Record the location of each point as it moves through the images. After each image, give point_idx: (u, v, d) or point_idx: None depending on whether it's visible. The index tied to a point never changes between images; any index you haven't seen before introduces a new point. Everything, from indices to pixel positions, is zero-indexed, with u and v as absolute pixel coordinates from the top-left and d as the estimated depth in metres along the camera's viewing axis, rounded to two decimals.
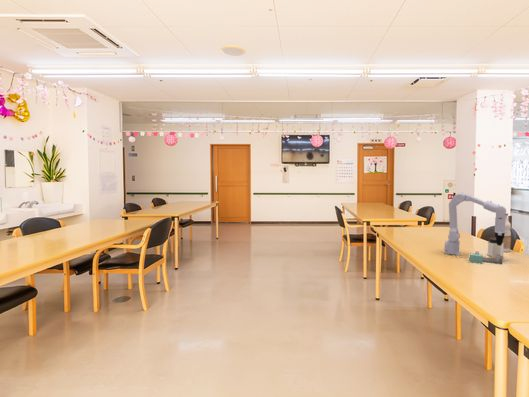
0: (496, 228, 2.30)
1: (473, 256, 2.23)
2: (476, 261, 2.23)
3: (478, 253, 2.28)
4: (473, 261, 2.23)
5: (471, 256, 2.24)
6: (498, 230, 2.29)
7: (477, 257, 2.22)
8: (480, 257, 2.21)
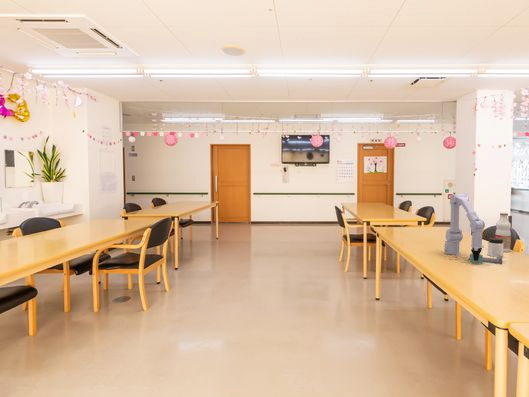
0: (473, 243, 2.23)
1: None
2: (476, 261, 2.23)
3: None
4: (473, 261, 2.23)
5: (471, 256, 2.24)
6: (475, 245, 2.22)
7: None
8: (480, 257, 2.21)
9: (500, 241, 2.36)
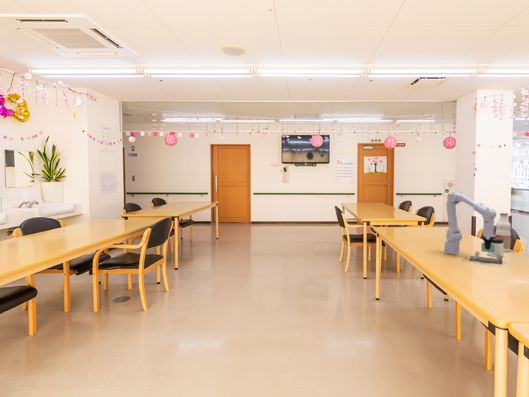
0: (484, 232, 2.25)
1: None
2: (488, 250, 2.25)
3: (478, 253, 2.28)
4: (485, 250, 2.25)
5: (483, 245, 2.26)
6: (486, 234, 2.24)
7: None
8: (492, 246, 2.23)
9: (500, 241, 2.36)
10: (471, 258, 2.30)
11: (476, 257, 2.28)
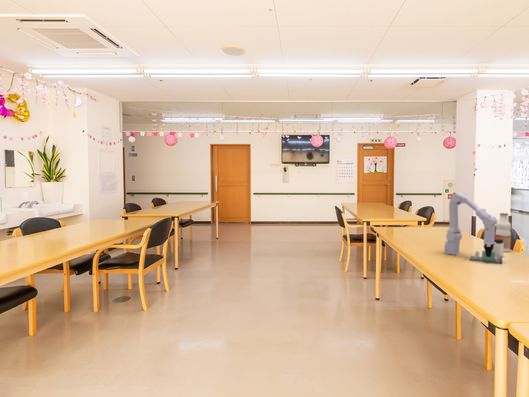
0: (485, 239, 2.26)
1: (485, 253, 2.26)
2: (488, 258, 2.25)
3: (478, 253, 2.28)
4: (485, 258, 2.26)
5: (483, 253, 2.27)
6: (487, 241, 2.25)
7: None
8: (493, 254, 2.24)
9: (500, 241, 2.36)
10: (471, 258, 2.30)
11: (476, 257, 2.28)
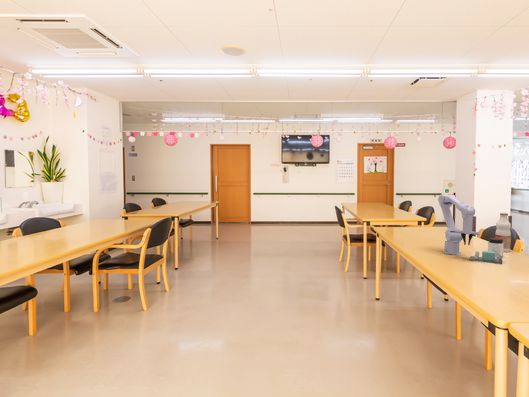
0: None
1: (485, 253, 2.26)
2: (488, 258, 2.25)
3: (478, 253, 2.28)
4: (485, 258, 2.26)
5: (483, 253, 2.27)
6: None
7: (490, 254, 2.25)
8: (493, 254, 2.24)
9: (500, 241, 2.36)
10: (471, 258, 2.30)
11: (476, 257, 2.28)
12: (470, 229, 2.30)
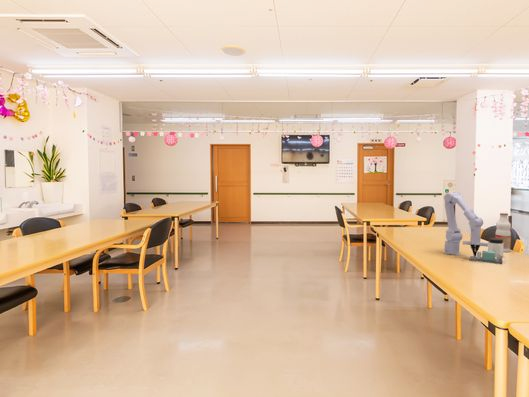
0: None
1: (485, 253, 2.26)
2: (488, 258, 2.25)
3: (480, 253, 2.27)
4: (485, 258, 2.26)
5: (483, 253, 2.27)
6: None
7: (490, 254, 2.25)
8: (493, 254, 2.24)
9: (500, 241, 2.36)
10: (471, 258, 2.30)
11: (478, 257, 2.27)
12: (478, 240, 2.28)
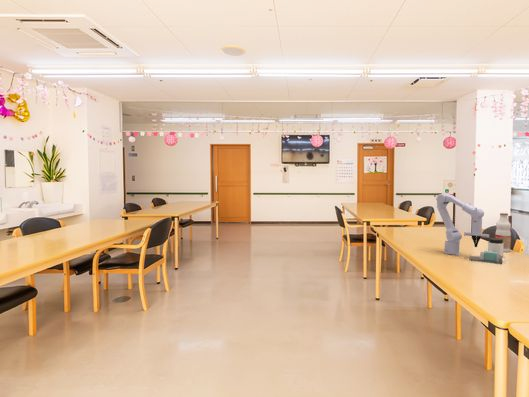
0: None
1: (487, 253, 2.25)
2: (490, 259, 2.25)
3: (483, 254, 2.26)
4: (487, 258, 2.26)
5: (485, 253, 2.26)
6: None
7: (491, 254, 2.24)
8: (494, 254, 2.23)
9: (500, 241, 2.36)
10: (471, 258, 2.30)
11: (481, 258, 2.26)
12: (479, 231, 2.31)
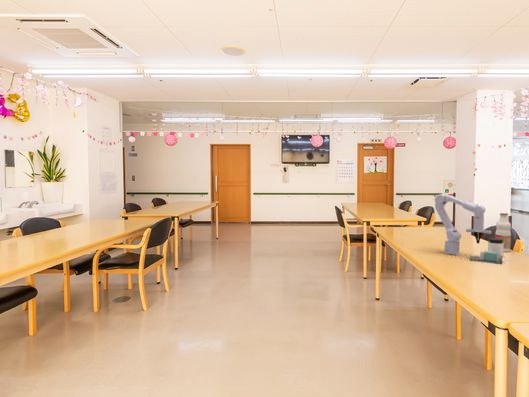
0: None
1: (487, 253, 2.25)
2: (490, 259, 2.25)
3: (483, 254, 2.26)
4: (487, 258, 2.26)
5: (485, 253, 2.26)
6: None
7: (491, 254, 2.24)
8: (494, 254, 2.23)
9: (500, 241, 2.36)
10: (471, 258, 2.30)
11: (481, 258, 2.26)
12: (481, 228, 2.33)
